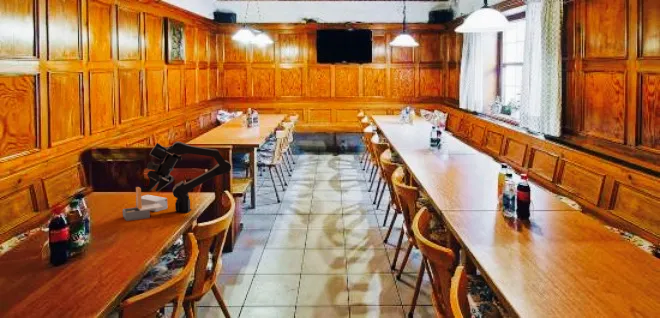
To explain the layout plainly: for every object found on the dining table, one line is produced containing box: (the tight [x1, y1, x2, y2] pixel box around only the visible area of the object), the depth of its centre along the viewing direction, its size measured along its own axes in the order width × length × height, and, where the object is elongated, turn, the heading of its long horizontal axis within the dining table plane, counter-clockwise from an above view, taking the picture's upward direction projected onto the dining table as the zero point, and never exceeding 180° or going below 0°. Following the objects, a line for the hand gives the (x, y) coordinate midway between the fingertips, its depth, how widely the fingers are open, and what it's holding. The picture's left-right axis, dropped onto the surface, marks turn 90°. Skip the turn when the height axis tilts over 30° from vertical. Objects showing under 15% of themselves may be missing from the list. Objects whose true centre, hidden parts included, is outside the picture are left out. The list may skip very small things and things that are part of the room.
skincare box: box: [135, 194, 168, 212], centre depth 260 cm, size 8×6×15 cm
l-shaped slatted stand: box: [135, 186, 163, 211], centre depth 246 cm, size 11×8×11 cm
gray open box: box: [122, 206, 151, 222], centre depth 244 cm, size 11×8×4 cm
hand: (152, 191), depth 250 cm, fingers open, 9 cm apart
